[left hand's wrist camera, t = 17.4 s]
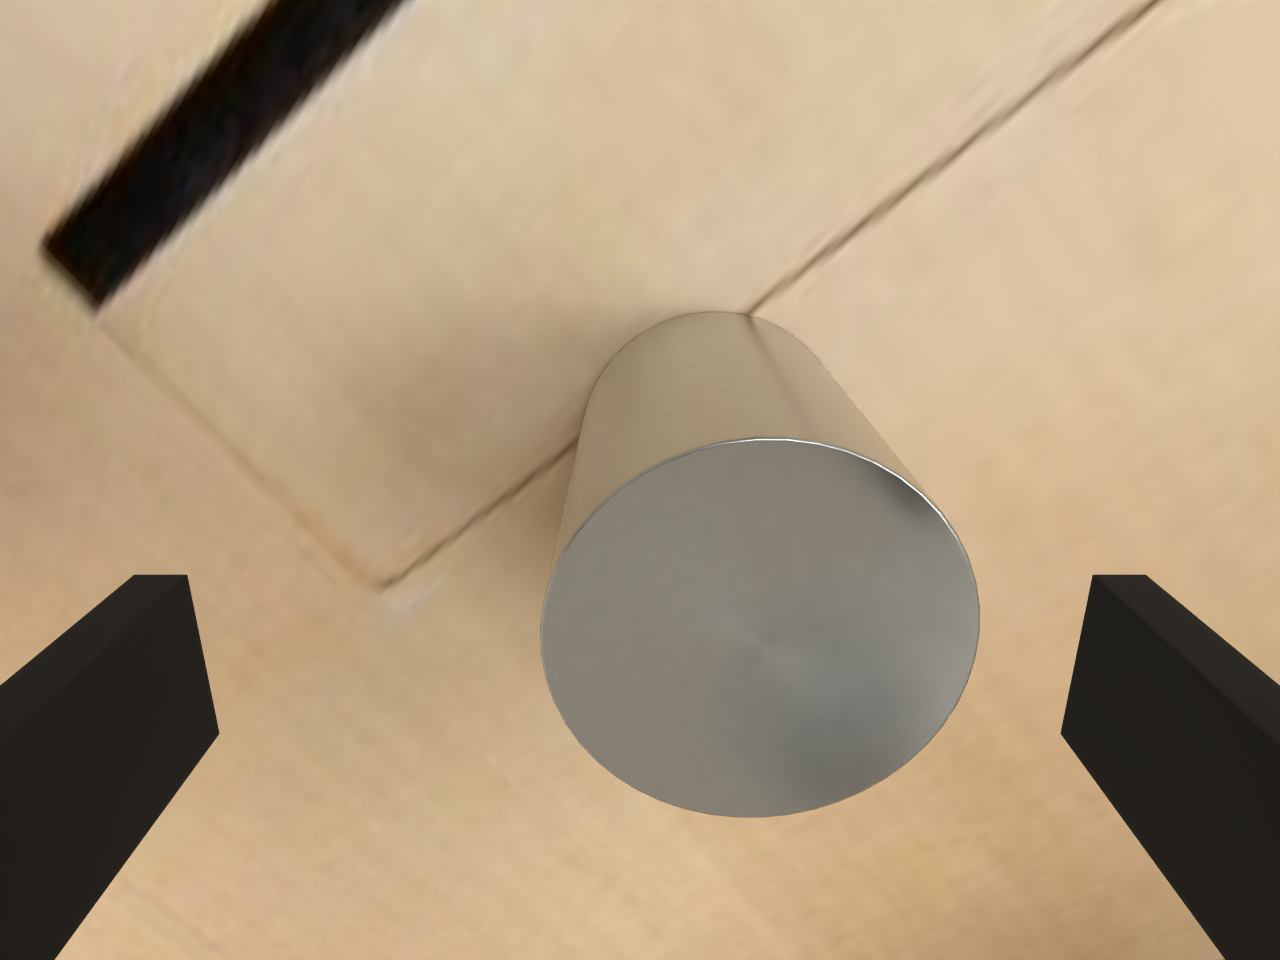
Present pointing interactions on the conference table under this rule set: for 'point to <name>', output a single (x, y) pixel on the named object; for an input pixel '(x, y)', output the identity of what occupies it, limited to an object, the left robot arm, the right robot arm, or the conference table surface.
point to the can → (748, 580)
